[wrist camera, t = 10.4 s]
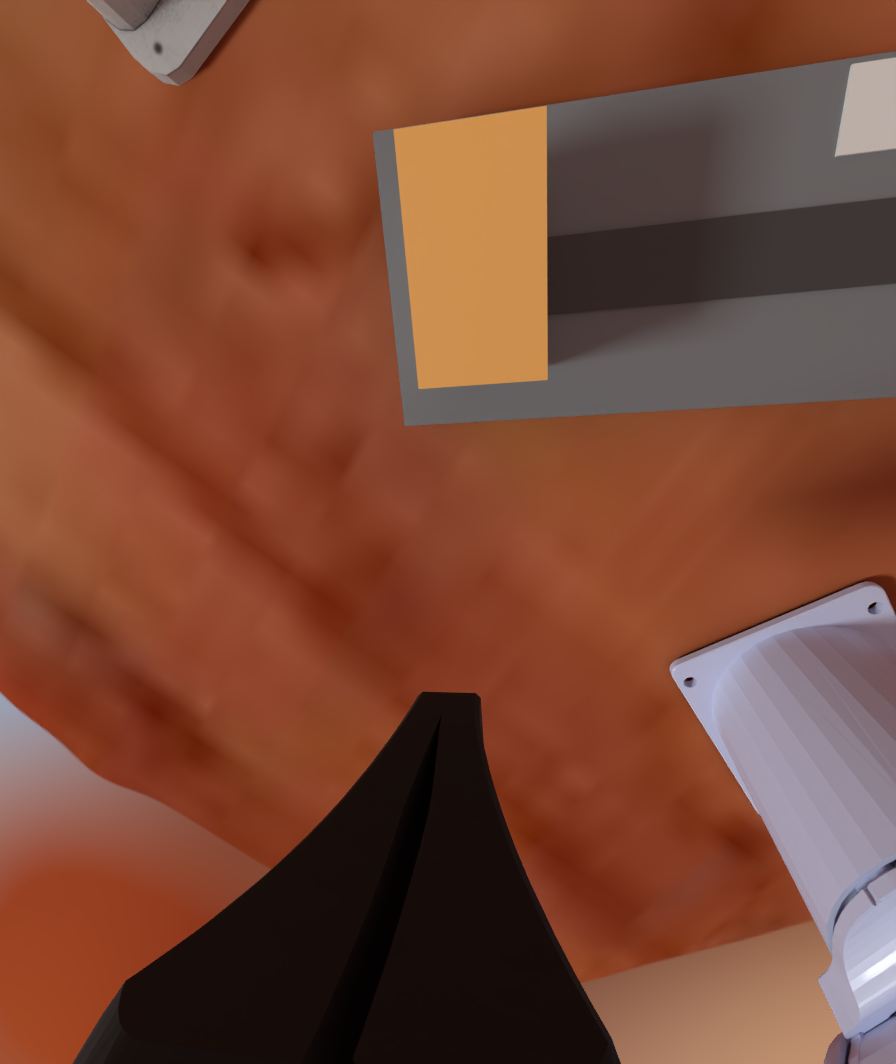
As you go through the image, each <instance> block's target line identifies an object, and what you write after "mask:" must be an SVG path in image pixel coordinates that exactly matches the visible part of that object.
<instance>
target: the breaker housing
mask: <svg viewBox="0 0 896 1064" xmlns="http://www.w3.org/2000/svg"><path fill="white" fill-rule="evenodd" d="M545 106H547V326H548V380H541V381H527V382H512V383H498V384H484V385H470V386H456V387H441V388H427V389H418V379H417V369H416V358H415V348H414V338H413V327H412V317H411V306H410V296H409V286H408V275H407V265H406V255H405V244H404V234H403V224H402V213H401V203H400V193H399V182H398V172H397V162H396V151H395V141H394V131H393V129H389V130H383V131H376V132H373V140H374V150H375V159H376V168H377V177H378V186H379V195H380V204H381V214H382V223H383V232H384V241H385V250H386V259H387V268H388V278H389V287H390V296H391V305H392V314H393V323H394V332H395V341H396V351H397V360H398V369H399V378H400V387H401V396H402V405H403V415H404V424H405V426H414V425H431V424H448V423H465V422H482V421H499V420H516V419H533V418H550V417H567V416H584V415H601V414H618V413H635V412H652V411H669V410H686V409H703V408H720V407H737V406H754V405H771V404H788V403H805V402H822V401H839V400H856V399H873V398H890V397H896V51H894V52H887V53H881V54H874V55H868V56H861V57H855V58H848V59H842V60H835V61H829V62H822V63H816V64H810V65H803V66H797V67H790V68H784V69H777V70H771V71H764V72H758V73H751V74H745V75H738V76H732V77H726V78H719V79H713V80H706V81H700V82H693V83H687V84H680V85H674V86H667V87H661V88H654V89H648V90H641V91H635V92H629V93H622V94H616V95H609V96H603V97H596V98H590V99H583V100H577V101H570V102H564V103H557V104H551V105H545ZM538 107H542V106H538ZM532 108H535V107H532ZM525 109H529V108H525ZM519 110H522V109H519ZM512 111H516V110H512ZM506 112H509V111H506ZM499 113H503V112H499ZM493 114H496V113H493ZM486 115H490V114H486ZM480 116H483V115H480ZM473 117H477V116H473ZM467 118H470V117H467ZM460 119H464V118H460ZM454 120H458V119H454ZM448 121H451V120H448ZM441 122H445V121H441ZM435 123H438V122H435ZM428 124H432V123H428ZM422 125H425V124H422ZM415 126H419V125H415ZM409 127H412V126H409ZM402 128H406V127H402ZM396 129H399V128H396Z"/></svg>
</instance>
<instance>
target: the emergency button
mask: <svg viewBox="0 0 896 1064" xmlns="http://www.w3.org/2000/svg"><path fill="white" fill-rule="evenodd" d="M86 1H88V2H89V3H90V4H91V5H92V6H93V7H94V8H95V9H96V10H97V11H99V13H100V14H101V15H102V17H103V18H104V19H105V20H106V22H107V23H108V24H109V26H110V27H111V28H112V30H113V31H114V32H115V34H116V35H117V36H118V38H119V39H120V40H121V42H122V43H123V44H124V45H125V47H126V48H127V49H128V51H129V52H130V53H131V55H132V56H133V57H134V58H135V59H136V60H137V61H138V62H139V63H140V64H141V65H143V66H144V67H145V68H146V69H147V70H148V71H149V72H151V73H152V74H153V75H154V76H156V77H157V78H158V79H160V80H161V81H162V82H164V83H168V84H173V85H178V86H180V85H182V84H183V83H185V82H187V81H188V80H190V79H191V78H193V76H194V75H195V74H196V72H197V71H198V70H199V68H200V67H201V66H202V64H203V63H204V62H205V60H206V59H207V58H208V56H209V55H210V53H211V52H212V51H213V49H214V48H215V47H216V45H217V44H218V43H219V41H220V40H221V39H222V37H223V36H224V35H225V33H226V32H227V31H228V29H229V28H230V26H231V25H232V24H233V22H234V21H235V20H236V18H237V17H238V16H239V14H240V13H241V12H242V10H243V9H244V8H245V6H246V5H247V4H248V2H249V1H250V0H86Z"/></svg>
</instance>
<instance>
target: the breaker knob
mask: <svg viewBox="0 0 896 1064" xmlns="http://www.w3.org/2000/svg"><path fill="white" fill-rule="evenodd" d="M393 131H394V141H395V151H396V162H397V172H398V182H399V193H400V203H401V213H402V224H403V234H404V244H405V255H406V265H407V275H408V286H409V296H410V306H411V317H412V327H413V338H414V348H415V358H416V369H417V379H418V389H427V388H441V387H456V386H470V385H484V384H498V383H512V382H527V381H541V380H548V326H547V106H542V107H535V108H529V109H522V110H516V111H509V112H503V113H496V114H490V115H483V116H477V117H470V118H464V119H458V120H451V121H445V122H438V123H432V124H425V125H419V126H412V127H406V128H399V129H393Z"/></svg>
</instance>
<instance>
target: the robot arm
mask: <svg viewBox="0 0 896 1064" xmlns="http://www.w3.org/2000/svg"><path fill="white" fill-rule="evenodd" d="M874 602H877V603H876V605H875V606H874V607H872V608H870V609H868V607H869V605H871V604H872V603H874ZM670 672H671V675H672V677H673V679H674V680H675V682H676V683H677V685H678V687H679V688H680V690H681V691H682V693H683V695H684V696H685V698H686V699H687V701H688V703H689V704H690V706H691V707H692V709H693V711H694V712H695V714H696V715H697V717H698V719H699V720H700V722H701V723H702V725H703V727H704V728H705V730H706V731H707V733H708V735H709V736H710V738H711V739H712V741H713V743H714V744H715V746H716V747H717V749H718V751H719V752H720V754H721V755H722V757H723V759H724V760H725V762H726V763H727V765H728V766H729V768H730V770H731V771H732V773H733V774H734V776H735V778H736V779H737V781H738V782H739V784H740V786H741V787H742V789H743V790H744V792H745V794H746V795H747V797H748V798H749V800H750V802H751V803H752V805H753V806H754V808H755V810H756V811H757V813H758V814H759V815H761V817H762V819H763V821H764V823H765V825H766V827H767V829H768V831H769V833H770V835H771V837H772V839H773V841H774V843H775V845H776V847H777V849H778V851H779V853H780V855H781V857H782V858H783V860H784V862H785V864H786V866H787V868H788V870H789V872H790V874H791V876H792V878H793V880H794V882H795V884H796V886H797V888H798V890H799V892H800V894H801V896H802V898H803V900H804V902H805V904H806V906H807V908H808V910H809V912H810V914H811V915H812V917H813V919H814V921H815V923H816V925H817V927H818V929H819V931H820V933H821V935H822V937H823V939H824V941H825V943H826V945H827V947H828V949H829V951H830V953H831V955H832V957H833V960H832V963H831V965H830V967H829V968H828V969H827V971H826V972H825V973H823V974H822V975H821V976H820V977H819V979H818V981H819V983H820V986H821V988H822V990H823V992H824V994H825V996H826V998H827V1000H828V1003H829V1004H830V1007H831V1009H832V1011H833V1013H834V1016H835V1018H836V1020H837V1022H838V1024H839V1026H840V1028H841V1030H842V1033H840V1034H838V1035H837V1036H836V1038H835V1039H834V1040H833V1041H832V1043H831V1044H830V1046H829V1048H828V1051H827V1054H826V1057H825V1060H824V1064H896V614H895V612H894V609H893V607H892V605H891V603H890V601H889V598H888V596H887V594H886V592H885V590H884V589H883V588H882V587H881V586H879V585H878V584H876V583H874V582H869V581H865V582H862V583H859V584H856V585H854V586H851V587H849V588H847V589H844V590H842V591H839V592H837V593H835V594H832V595H830V596H827V597H825V598H823V599H820V600H818V601H816V602H813V603H811V604H808V605H806V606H804V607H801V608H799V609H796V610H794V611H792V612H789V613H787V614H784V615H782V616H780V617H777V618H775V619H773V620H770V621H768V622H765V623H763V624H761V625H758V626H756V627H753V628H751V629H749V630H746V631H744V632H741V633H739V634H737V635H734V636H732V637H730V638H727V639H725V640H722V641H720V642H718V643H715V644H713V645H710V646H708V647H706V648H703V649H701V650H698V651H696V652H694V653H691V654H689V655H687V656H684V657H682V658H679V659H677V660H675V661H674V662H673V663H672V664H671V665H670ZM689 677H693V679H692V680H691V681H684V680H685V679H686V678H689ZM73 1064H621V1063H620V1060H619V1058H618V1055H617V1052H616V1049H615V1046H614V1044H613V1041H612V1039H611V1037H610V1035H609V1033H608V1031H607V1029H606V1028H605V1026H604V1024H603V1022H602V1021H601V1019H600V1017H599V1015H598V1014H597V1012H596V1010H595V1009H594V1007H593V1005H592V1003H591V1002H590V1000H589V998H588V996H587V994H586V993H585V991H584V989H583V987H582V985H581V984H580V982H579V980H578V978H577V976H576V974H575V973H574V971H573V969H572V967H571V965H570V963H569V961H568V959H567V957H566V955H565V953H564V952H563V950H562V948H561V946H560V944H559V942H558V940H557V938H556V936H555V934H554V932H553V930H552V928H551V926H550V924H549V922H548V919H547V917H546V915H545V913H544V911H543V909H542V907H541V905H540V903H539V901H538V898H537V896H536V894H535V892H534V890H533V888H532V886H531V884H530V881H529V879H528V877H527V874H526V872H525V870H524V867H523V865H522V862H521V860H520V858H519V855H518V853H517V850H516V848H515V845H514V843H513V840H512V838H511V835H510V832H509V830H508V827H507V824H506V821H505V819H504V816H503V813H502V810H501V807H500V804H499V801H498V797H497V794H496V791H495V788H494V785H493V781H492V778H491V774H490V770H489V766H488V762H487V758H486V754H485V749H484V742H483V727H482V713H481V698H480V697H479V696H478V695H477V694H476V693H447V692H422V693H421V694H420V695H419V696H418V697H417V699H416V700H415V702H414V704H413V705H412V707H411V708H410V710H409V712H408V713H407V715H406V716H405V718H404V719H403V721H402V722H401V724H400V725H399V726H398V728H397V729H396V731H395V732H394V734H393V735H392V736H391V738H390V739H389V741H388V742H387V743H386V745H385V746H384V747H383V749H382V750H381V751H380V753H379V754H378V755H377V757H376V758H375V759H374V761H373V762H372V763H371V765H370V766H369V767H368V768H367V770H366V771H365V772H364V773H363V774H362V776H361V777H360V778H359V779H358V780H357V782H356V783H355V784H354V785H353V786H352V788H351V789H350V790H349V791H348V793H347V794H346V795H345V796H344V797H343V798H342V799H341V801H340V802H339V803H338V804H337V805H336V806H335V807H334V808H333V810H332V811H331V812H330V813H329V814H328V815H327V816H326V817H325V818H324V819H323V820H322V821H321V822H320V823H319V824H318V825H317V826H316V827H315V828H314V829H313V831H312V832H311V833H310V834H309V835H308V836H307V837H306V838H305V839H303V840H302V841H301V842H300V843H299V844H298V845H297V846H296V847H295V848H294V849H293V850H292V851H291V852H290V853H289V854H288V855H287V856H286V857H285V858H283V859H282V860H281V861H280V862H279V863H278V864H277V865H276V866H275V867H274V868H273V869H272V870H270V871H269V872H268V873H267V874H266V875H265V876H264V877H262V878H261V879H260V880H259V881H258V882H257V883H255V884H254V885H253V886H252V887H251V888H249V889H248V890H247V891H246V892H245V893H243V894H242V895H241V896H240V897H238V898H237V899H236V900H235V901H234V902H232V903H231V904H230V905H229V906H227V907H226V908H225V909H224V910H223V911H222V912H220V913H219V914H218V915H216V916H215V917H214V918H213V919H211V920H210V921H209V922H208V923H206V924H205V925H204V926H202V927H201V928H200V929H199V930H197V931H196V932H194V933H193V934H192V935H190V936H189V937H187V938H186V939H185V940H183V941H182V942H180V943H179V944H178V945H177V946H175V947H174V948H172V949H171V950H169V951H168V952H167V953H165V954H164V955H162V956H161V957H159V958H158V959H157V960H155V961H154V962H152V963H151V964H150V965H148V966H147V967H145V968H144V969H143V970H141V971H140V972H138V973H137V974H135V975H134V976H132V977H131V978H129V979H128V980H126V981H125V983H124V984H123V985H122V987H121V988H120V990H119V991H118V993H117V994H116V996H115V997H114V999H113V1000H112V1001H111V1003H110V1004H109V1006H108V1007H107V1009H106V1010H105V1011H104V1013H103V1014H102V1016H101V1018H100V1019H99V1021H98V1023H97V1024H96V1026H95V1028H94V1029H93V1031H92V1032H91V1034H90V1036H89V1037H88V1039H87V1040H86V1042H85V1044H84V1045H83V1047H82V1049H81V1050H80V1052H79V1054H78V1055H77V1057H76V1059H75V1060H74V1062H73Z"/></svg>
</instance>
